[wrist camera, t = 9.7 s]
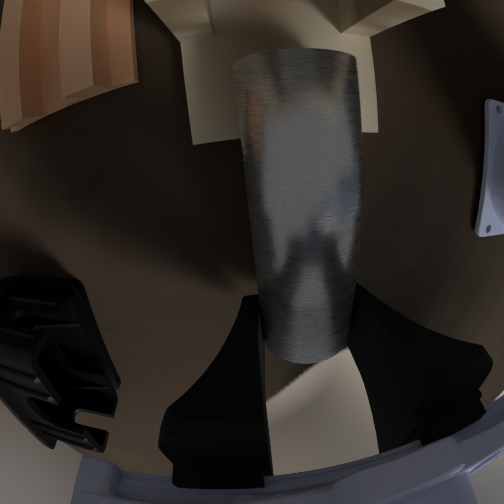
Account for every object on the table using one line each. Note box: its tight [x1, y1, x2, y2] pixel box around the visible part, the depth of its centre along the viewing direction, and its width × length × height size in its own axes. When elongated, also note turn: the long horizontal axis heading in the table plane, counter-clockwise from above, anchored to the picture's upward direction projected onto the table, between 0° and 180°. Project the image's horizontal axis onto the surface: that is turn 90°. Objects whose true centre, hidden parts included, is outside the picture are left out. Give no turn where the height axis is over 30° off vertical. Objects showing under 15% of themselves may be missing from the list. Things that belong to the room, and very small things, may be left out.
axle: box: [232, 48, 362, 364], centre depth 9 cm, size 10×4×4 cm, turn 6°
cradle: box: [0, 0, 139, 132], centre depth 6 cm, size 7×7×2 cm
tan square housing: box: [144, 0, 445, 145], centre depth 6 cm, size 7×9×6 cm
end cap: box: [0, 276, 121, 453], centre depth 12 cm, size 10×7×7 cm
